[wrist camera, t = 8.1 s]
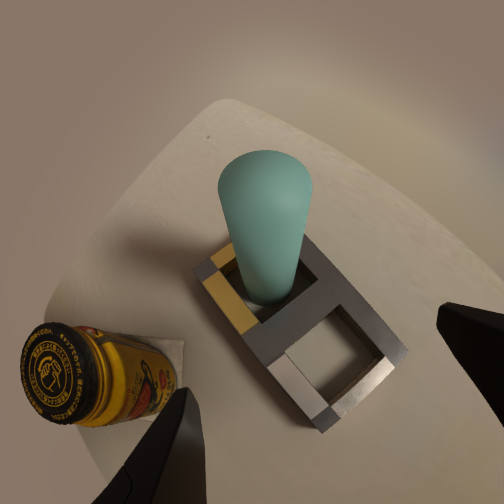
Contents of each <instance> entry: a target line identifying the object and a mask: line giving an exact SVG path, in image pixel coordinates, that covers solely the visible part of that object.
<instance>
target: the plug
mask: <svg viewBox="0 0 504 504" xmlns="http://www.w3.org/2000/svg"><path fill="white" fill-rule="evenodd" d="M218 194H219V198H220V201H221V205H222V209H223V212H224V216H225V219H226V223H227V227H228V230H229V234H230V238H231V241H232V245H233V248H234V252H235V255H236V259H237V262H238V266H239V270H240V273H241V277H242V280H243V284H244V287H245V290H246V293H247V295H248V296H249V298H250V299H251V300H252V301H253V302H255V303H257V304H259V305H262V306H275V305H278V304H280V303H282V302H283V301H284V300H286V299H287V297H288V296H289V295H290V293H291V290H292V286H293V282H294V277H295V273H296V268H297V263H298V259H299V254H300V250H301V245H302V240H303V235H304V230H305V225H306V220H307V215H308V210H309V205H310V199H311V194H312V180H311V177H310V174H309V172H308V170H307V169H306V168H305V166H304V165H303V164H302V163H301V162H299V161H298V160H297V159H295V158H294V157H292V156H290V155H288V154H285V153H282V152H278V151H271V150H260V151H254V152H249V153H246V154H244V155H242V156H239V157H238V158H236V159H234V160H233V161H232V162H230V163H229V164H228V165H227V166H226V168H225V169H224V170H223V172H222V173H221V176H220V178H219V182H218Z"/></svg>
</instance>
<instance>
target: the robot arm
mask: <svg viewBox="0 0 504 504" xmlns="http://www.w3.org/2000/svg"><path fill="white" fill-rule="evenodd" d="M436 326H437V329H438V331H439V333H440V334H441V336H442V337H443V339H444V340H445V342H446V344H447V345H448V347H449V348H450V350H451V352H452V353H453V355H454V356H455V358H456V359H457V361H458V362H459V364H460V365H461V366H462V367H463V369H464V370H465V371H466V373H467V374H468V376H469V377H470V378H471V380H472V381H473V382H474V384H475V385H476V387H477V388H478V389H479V391H480V392H481V394H482V395H483V397H484V398H485V399H486V401H487V402H488V404H489V405H490V407H491V408H492V410H493V411H494V413H495V415H496V416H497V418H498V419H499V421H500V422H501V424H502V425H503V427H504V314H501V313H496V312H492V311H487V310H483V309H478V308H473V307H469V306H464V305H460V304H455V303H451V302H447V303H445V304H443V305H441V306H440V307H439V309H438V316H437V322H436ZM91 504H207V499H206V472H205V446H204V438H203V432H202V424H201V417H200V409H199V405H198V403H197V401H196V399H195V397H194V395H193V394H192V392H191V390H190V389H189V388H188V387H184V388H178V389H176V390H175V391H174V393H173V394H172V395H171V397H170V398H169V400H168V401H167V403H166V404H165V406H164V407H163V409H162V410H161V411H160V413H159V414H158V416H157V417H156V419H155V420H154V422H153V423H152V424H151V426H150V427H149V429H148V430H147V432H146V433H145V434H144V436H143V437H142V439H141V440H140V442H139V443H138V444H137V446H136V447H135V449H134V450H133V452H132V453H131V454H130V456H129V457H128V459H127V460H126V461H125V463H124V466H122V467H121V468H120V470H119V471H118V473H117V474H116V475H115V477H114V478H113V479H112V481H111V482H110V483H109V484H108V486H107V487H106V488H105V489H104V490H103V491H102V493H101V494H100V495H99V496H98V497H97V498H96V499H95V500H94V501H93V502H92V503H91Z"/></svg>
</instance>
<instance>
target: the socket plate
mask: <svg viewBox="0 0 504 504" xmlns="http://www.w3.org/2000/svg"><path fill="white" fill-rule="evenodd" d="M237 267H238V262H237V259H236V255H235V252H234V248H233V245H232V242H231V243H230V244H228V245H227V246H226V247H224V248H223V249H221V250H220V251H218V252H217V253H216V254H214V255H213V256H211V257H210V258H208V259H207V260H206V261H204V262H203V263H201V264H200V265H199V266H197V267H196V268H194V269H193V270H192V271H193V272H194V274H195V275H196V277H197V278H198V279H199V281H200V282H201V284H202V285H203V286H204V288H205V289H206V291H207V292H208V293H209V295H210V296H211V298H212V299H213V300H214V302H215V303H216V304H217V306H218V307H219V308H220V310H221V311H222V312H223V314H224V315H225V316H226V318H227V319H228V320H229V322H230V323H231V324H232V326H233V327H234V328H235V330H236V331H237V332H238V334H239V335H240V336H241V338H242V339H243V340H244V341H245V343H246V344H247V345H248V347H249V348H250V349H251V350H252V352H253V353H254V354H255V355H256V357H257V358H258V359H259V360H260V362H261V363H262V364H263V365H264V367H265V368H266V369H267V370H268V372H269V373H270V374H271V375H272V377H273V378H274V379H275V380H276V381H277V383H278V384H279V385H280V386H281V387H282V389H283V390H284V391H285V392H286V393H287V395H288V396H289V397H290V398H291V399H292V401H293V402H294V403H295V404H296V405H297V406H298V408H299V409H300V410H301V411H302V412H303V413H304V414H305V416H306V417H307V418H308V419H309V420H310V421H311V422H312V424H313V425H314V426H315V427H316V428H317V429H318V430H319V431H320V432H321V433H324V432H325V431H326V430H327V429H329V428H330V427H331V426H332V425H334V424H335V423H336V422H337V421H339V420H340V419H341V418H342V417H343V416H344V415H346V414H347V413H348V412H349V411H350V410H351V409H353V408H354V407H355V406H356V405H357V404H358V403H359V402H360V401H361V400H362V399H364V398H365V397H366V396H367V395H368V394H369V393H370V392H371V391H372V390H373V389H374V388H375V387H376V386H377V385H378V384H379V383H380V382H381V381H382V380H383V379H384V378H385V377H386V376H387V375H388V374H389V373H390V372H391V371H392V370H393V369H394V368H395V367H396V366H397V365H398V363H399V362H400V361H401V360H402V359H403V358H404V357H405V356H406V355H407V353H408V352H409V351H408V349H407V348H406V347H405V346H404V345H403V343H402V342H401V341H400V340H399V339H398V337H397V336H396V335H395V334H394V333H393V331H392V330H391V329H390V328H389V327H388V326H387V324H386V323H385V322H384V321H383V320H382V319H381V317H380V316H379V315H378V314H377V313H376V312H375V310H374V309H373V308H372V307H371V306H370V305H369V304H368V302H367V301H366V300H365V299H364V298H363V297H362V296H361V294H360V293H359V292H358V291H357V290H356V289H355V288H354V287H353V286H352V284H351V283H350V282H349V281H348V280H347V279H346V278H345V277H344V276H343V275H342V273H341V272H340V271H339V270H338V269H337V268H336V267H335V266H334V265H333V264H332V263H331V261H330V260H329V259H328V258H327V257H326V256H325V255H324V254H323V253H322V252H321V251H320V250H319V249H318V248H317V247H316V245H315V244H314V243H313V242H312V241H311V240H310V239H309V238H308V237H307V236H306V235H305V234H304V235H303V240H302V245H301V250H300V254H299V259H298V263H297V268H298V269H299V270H300V271H301V272H302V273H303V275H304V276H305V277H306V278H307V279H308V280H309V281H310V282H311V284H312V285H311V286H310V287H309V288H307V289H306V290H305V291H304V292H302V293H301V294H300V295H299V296H297V297H296V298H295V299H294V300H292V301H291V302H290V303H289V304H287V305H286V306H285V307H284V308H282V309H281V310H280V311H278V312H277V313H276V314H275V315H273V316H272V317H271V318H269V319H268V320H267V321H265V322H264V323H263V324H261V323H260V321H259V320H258V319H257V318H256V316H255V315H254V314H253V312H252V311H251V310H250V309H249V307H248V306H247V305H246V304H245V302H244V301H243V300H242V299H241V297H240V296H239V295H238V293H237V292H236V291H235V290H234V288H233V287H232V286H231V284H230V283H229V282H228V281H227V279H226V278H225V277H224V276H226V275H227V274H228V273H230V272H231V271H232V270H234V269H235V268H237ZM333 310H335V311H336V312H337V313H338V314H339V316H340V317H341V318H342V319H343V320H344V321H345V322H346V324H347V325H348V326H349V327H350V328H351V329H352V331H353V332H354V333H355V334H356V335H357V336H358V338H359V339H360V340H361V341H362V342H363V343H364V345H365V346H366V347H367V348H368V349H369V350H370V352H371V353H372V354H373V355H374V356H375V358H376V359H375V360H374V361H373V362H372V363H371V364H370V365H369V366H368V367H367V368H366V369H365V370H363V371H362V372H361V373H360V374H359V375H358V376H357V377H356V378H355V379H354V380H353V381H352V382H351V383H349V384H348V385H347V386H346V387H345V388H344V389H343V390H342V391H340V392H339V393H338V394H337V395H336V396H335V397H333V398H332V399H331V400H330V401H329V402H328V403H327V402H326V401H325V399H324V398H323V397H322V396H321V395H320V394H319V392H318V391H317V390H316V389H315V388H314V387H313V385H312V384H311V383H310V382H309V381H308V380H307V378H306V377H305V376H304V375H303V374H302V372H301V371H300V370H299V369H298V368H297V366H296V365H295V364H294V363H293V362H292V360H291V359H290V358H289V357H288V356H287V354H286V353H285V352H284V351H285V350H286V349H288V348H289V347H290V346H292V345H293V344H294V343H295V342H297V341H298V340H299V339H300V338H301V337H303V336H304V335H305V334H306V333H308V332H309V331H310V330H311V329H312V328H314V327H315V326H316V325H317V324H318V323H319V322H321V321H322V320H323V319H324V318H325V317H327V316H328V315H329V314H330V313H331V312H332V311H333Z"/></svg>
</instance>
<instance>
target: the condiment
mask: <svg viewBox="0 0 504 504" xmlns="http://www.w3.org/2000/svg"><path fill="white" fill-rule="evenodd" d="M183 346H184V340H173V339H161V338H151V337H142V336H134V335H125V334H118V333H111V332H104V331H101V330H99V329H96V328H91V327H86V326H76V327H69V326H67V325H65V324H63V323H55V322H52V323H45V324H42V325H40V326H38V327H36V328H35V329H34V330H33V332H32V333H31V334H30V336H29V337H28V339H27V341H26V342H25V345H24V347H23V349H22V355H21V362H20V363H21V365H20V370H21V381H22V384H23V388H24V391H25V393H26V396H27V398H28V400H29V402H30V403H31V405H32V406H33V407H34V409H35V410H36V411H37V412H38V414H39V415H41V416H42V417H43V418H45V419H47V420H49V421H51V422H54V423H56V424H63V425H67V424H79V425H82V426H85V427H93V428H94V427H99V426H107V425H113V424H117V423H120V422H125V421H131V420H133V419H138V418H139V419H143V420H148V421H153V422H154V420H155V419H156V417H157V416H158V414H159V413H160V411H161V410H162V409H163V407H164V406H165V404H166V403H167V401H168V400H169V398H170V397H171V395H172V394H173V393H174V391H175V390H176V389H178V388H182V369H183Z"/></svg>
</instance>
